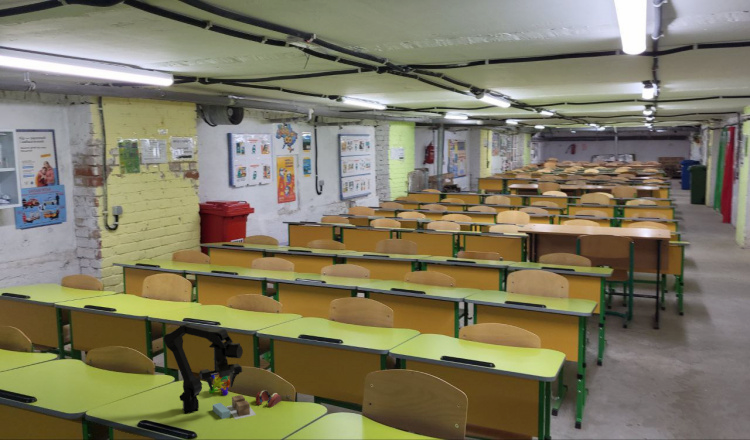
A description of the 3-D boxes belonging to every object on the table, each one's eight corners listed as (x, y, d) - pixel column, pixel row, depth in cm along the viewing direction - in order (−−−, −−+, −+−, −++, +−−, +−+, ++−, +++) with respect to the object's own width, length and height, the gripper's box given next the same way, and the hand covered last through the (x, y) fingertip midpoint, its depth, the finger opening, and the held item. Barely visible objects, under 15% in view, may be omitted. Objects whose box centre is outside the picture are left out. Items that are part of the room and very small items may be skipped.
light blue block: (230, 418, 274) (230, 410, 274) (222, 420, 272) (221, 412, 271) (220, 409, 284) (220, 402, 283) (212, 411, 281) (212, 404, 281)
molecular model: (207, 393, 304) (206, 371, 303) (216, 389, 310) (216, 367, 309) (224, 397, 299) (224, 375, 298) (234, 392, 305) (233, 371, 304)
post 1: (234, 410, 281) (234, 400, 281) (232, 406, 286) (231, 396, 285) (245, 408, 283) (244, 398, 283) (242, 404, 288) (242, 394, 287)
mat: (235, 419, 271) (235, 419, 271) (226, 407, 286) (226, 406, 286) (256, 415, 276) (256, 414, 276) (246, 403, 291) (246, 402, 291)
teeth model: (273, 396, 283) (253, 392, 288) (274, 408, 283) (253, 405, 289) (283, 390, 291) (263, 387, 296) (283, 403, 291) (263, 399, 296)
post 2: (239, 416, 274) (238, 406, 274) (236, 412, 278) (236, 402, 278) (249, 414, 276) (249, 403, 276) (246, 410, 281) (246, 400, 280)
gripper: (204, 365, 264) (205, 398, 266) (245, 357, 274) (246, 390, 275) (198, 358, 274) (199, 391, 275) (237, 351, 283) (239, 383, 284)
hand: (221, 389), depth 277 cm, fingers open, 9 cm apart
